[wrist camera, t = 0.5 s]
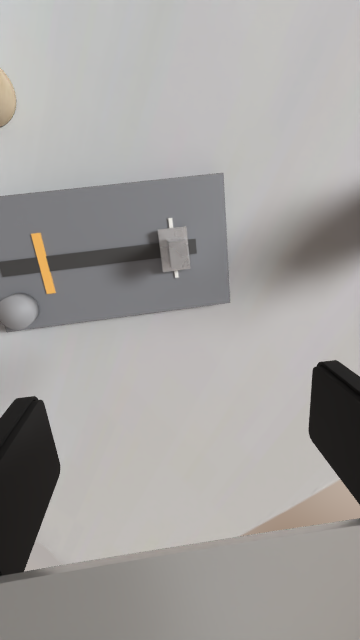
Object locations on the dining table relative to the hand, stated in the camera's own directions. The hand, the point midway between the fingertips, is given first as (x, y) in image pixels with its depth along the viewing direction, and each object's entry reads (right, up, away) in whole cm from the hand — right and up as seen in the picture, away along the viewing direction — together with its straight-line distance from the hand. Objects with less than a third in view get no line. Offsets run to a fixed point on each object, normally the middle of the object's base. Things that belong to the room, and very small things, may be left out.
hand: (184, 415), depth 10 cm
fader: (-1, +11, +22) cm, 24 cm away
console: (-8, +11, +23) cm, 27 cm away
